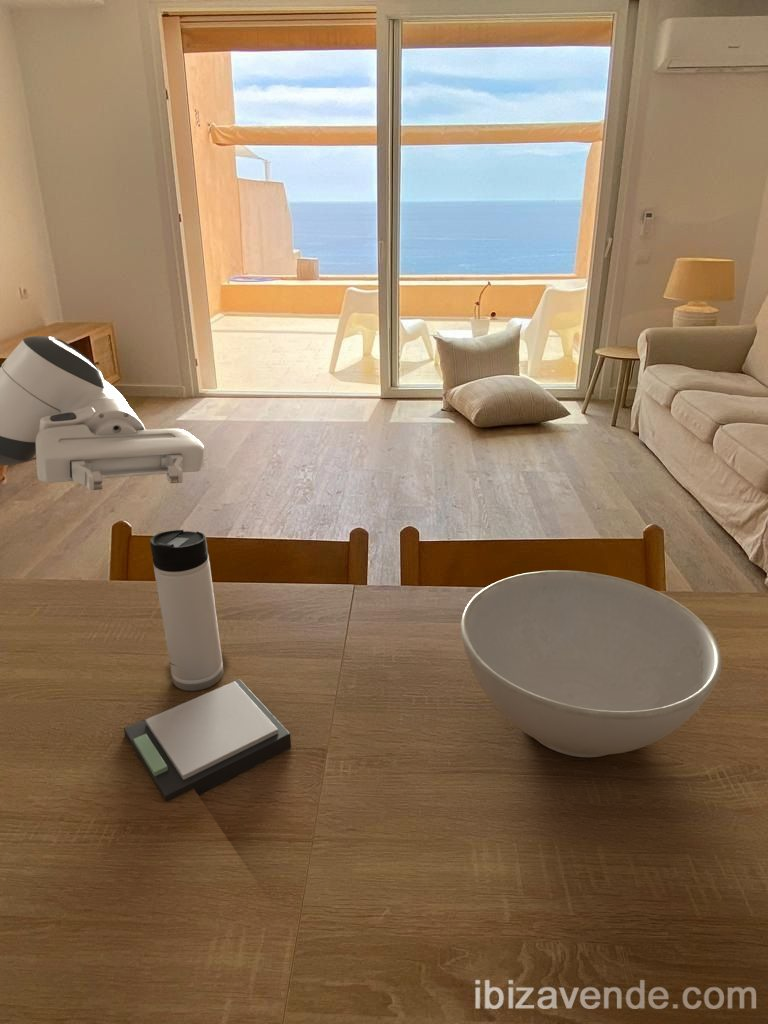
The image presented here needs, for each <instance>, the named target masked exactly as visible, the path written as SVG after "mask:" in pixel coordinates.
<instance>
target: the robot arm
mask: <svg viewBox="0 0 768 1024" xmlns="http://www.w3.org/2000/svg"><path fill="white" fill-rule="evenodd" d="M126 400H127V399H125V397H124V396H123V395H122V394H121V392H120V391H119V390H117V388H115V386H113V385H112V384H111V383H109V382H108V381H107V380H105V379H104V376H103V374H102V372H101V370H100V368H99V367H98V366H97V365H96V364H95V363H94V362H93V361H92V360H91V359H90V358H88V356H86V355H85V354H84V353H82V352H81V351H80V350H78V349H77V348H75V347H74V346H72V345H71V344H69V343H67V342H66V341H64V340H62V339H60V338H57V337H55V336H48V335H47V336H43V335H32V336H28V337H23V338H22V340H21V341H20V342H19V343H18V344H17V346H16V347H15V348H13V350H12V351H11V353H10V354H9V355H8V356H7V358H5V360H4V361H3V362H2V364H1V366H0V466H1V467H2V466H14V465H19V464H24V463H27V462H30V461H32V460H33V459H34V457H35V463H36V474H37V478H38V480H39V481H41V482H44V483H46V484H55V483H66V482H67V483H68V482H75V483H77V484H80V485H83V486H86V488H87V490H88V491H90V492H91V491H98V490H99V491H100V490H103V480H104V479H105V480H106V479H116V478H117V479H119V478H131V477H142V476H143V477H144V476H156V475H166V480H167V482H168V483H169V484H182V483H183V473H196V472H199V471H201V470H202V468H203V467H204V464H205V446H204V444H203V443H202V442H201V441H200V440H199V439H198V438H196V437H195V436H194V435H192V434H191V433H190V432H189V431H186V430H184V429H180V428H155V429H154V428H153V429H146V427H145V426H144V423H143V422H142V421H141V419H139V417H138V415H137V414H136V413H135V412H134V410H133V409H132V408H131V407H130V405H129V404H128V402H127V401H126Z"/></svg>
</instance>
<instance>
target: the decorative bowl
mask: <svg viewBox="0 0 768 1024" xmlns="http://www.w3.org/2000/svg"><path fill="white" fill-rule="evenodd" d="M460 635H461V642H462V646H463V649H464V653H465V656H466V658H467V661H468V663H469V666H470V669H471V671H472V673H473V675H474V677H475V679H476V681H477V683H478V684H479V687H480V688H481V690H482V691H483V693H484V694H485V696H486V698H487V699H488V700H489V701H490V702H491V703H492V705H493V706H494V707H495V709H497V710H498V712H499V713H501V715H502V716H503V717H505V719H507V721H508V722H510V723H511V724H512V725H513V726H515V727H516V728H517V729H519V730H520V731H522V732H523V733H525V735H527V736H529V737H530V738H533V739H535V740H536V741H537V742H539V743H540V744H541V745H543V746H544V747H546V748H549V749H550V750H552V751H555V752H558V753H560V754H564V755H567V756H571V757H577V758H597V757H604V756H607V755H608V756H609V755H616V754H624V753H628V752H633V751H637V750H639V749H642V748H644V747H647V746H649V745H652V744H654V743H657V742H658V741H661V740H662V739H664V738H665V737H668V736H669V735H670V734H672V733H674V732H675V731H677V730H678V729H679V728H680V727H682V726H683V725H684V724H685V723H686V722H688V720H690V718H691V717H692V716H693V715H694V714H695V713H696V712H697V711H698V710H699V709H700V708H701V707H702V705H703V704H704V702H705V701H706V700H707V699H708V697H709V696H710V695H711V693H712V692H713V690H714V689H715V686H716V684H717V683H718V680H719V678H720V675H721V672H722V667H723V659H722V658H723V657H722V652H721V649H720V646H719V644H718V641H717V639H716V637H715V636H714V634H713V633H712V631H711V629H710V628H709V627H708V626H707V625H706V624H705V622H704V621H702V620H701V618H699V617H698V616H697V614H695V613H694V612H693V611H691V610H690V609H689V608H687V607H686V606H684V605H683V604H681V603H680V602H678V601H677V600H675V599H673V598H671V597H670V596H668V595H666V594H664V593H662V592H660V591H657V590H655V589H653V588H650V587H648V586H645V585H643V584H640V583H637V582H634V581H631V580H628V579H624V578H620V577H616V576H612V575H606V574H602V573H596V572H588V571H580V570H579V571H578V570H541V571H532V572H525V573H521V574H516V575H513V576H509V577H506V578H503V579H500V580H498V581H496V582H494V583H491V584H490V585H488V586H486V587H485V588H483V589H481V590H480V591H479V592H478V593H476V594H475V595H474V596H473V597H472V598H471V600H470V601H469V602H468V603H467V605H466V607H465V608H464V611H463V613H462V616H461V621H460Z"/></svg>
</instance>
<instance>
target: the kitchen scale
mask: <svg viewBox="0 0 768 1024" xmlns="http://www.w3.org/2000/svg"><path fill="white" fill-rule="evenodd" d="M123 732H124V735H125V738H126V739H127V740H128V742H129V744H130V746H131V747H132V749H133V750H134V752H135V754H136V755H137V757H138V759H139V760H140V762H141V763H142V765H143V767H144V769H145V770H146V771H147V774H148V775H149V776H150V778H151V780H152V781H153V783H154V784H155V787H156V788H157V790H158V791H159V793H160V794H161V796H162V798H163V800H164V801H165V803H168V802H170V801H172V800H174V799H176V798H179V797H180V796H182V795H184V794H186V793H188V792H190V791H192V790H194V791H195V793H196V794H197V796H199V795H202V794H204V793H206V792H208V791H209V790H212V789H213V788H215V787H217V786H219V785H221V784H223V783H225V782H227V781H228V780H231V779H233V778H235V777H237V776H239V775H241V774H243V773H244V772H247V771H248V770H250V769H252V768H255V767H257V766H258V765H260V764H262V763H265V762H266V761H268V760H270V759H272V758H274V757H276V756H278V755H280V754H282V753H284V752H286V751H288V750H290V749H291V748H292V740H291V733H290V732H289V731H288V729H286V727H285V726H284V725H283V724H282V723H281V722H280V721H279V720H278V719H277V717H276V716H275V715H273V713H271V711H270V710H269V708H267V707H266V706H265V704H264V703H262V701H261V700H260V699H259V698H258V697H257V696H256V695H255V694H254V693H253V692H252V690H251V689H249V687H248V686H247V685H246V684H245V683H244V682H243V680H241V679H237V680H234V681H231V682H229V683H227V684H225V685H222V686H220V687H217V688H215V689H212V690H210V691H208V692H206V693H204V694H201V695H198V696H195V697H194V698H192V699H189V700H187V701H185V702H183V703H180V704H177V705H176V706H175V705H174V706H173V707H171V708H168V709H166V710H163V711H161V712H159V713H156V714H154V715H152V716H149V717H147V718H145V719H142V720H140V721H138V722H136V723H134V724H131V725H129V726H127V727H124V728H123Z"/></svg>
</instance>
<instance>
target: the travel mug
mask: <svg viewBox="0 0 768 1024" xmlns="http://www.w3.org/2000/svg"><path fill="white" fill-rule="evenodd" d="M149 543H150V544H149V545H150V550H151V551H150V552H151V556H152V565H153V572H154V577H155V584H156V590H157V595H158V596H157V597H158V602H159V607H160V614H161V620H162V626H163V632H164V638H165V644H166V650H167V655H168V662H169V669H170V674H171V680H172V683H173V685H174V686H175V687H177V688H178V689H180V690H181V691H182V690H183V691H185V692H198V691H203V690H207V689H209V688H211V687H213V686H214V685H216V684H217V683H218V682H219V681H220V680H221V679H222V677H223V675H224V665H223V656H222V649H221V648H222V647H221V641H220V640H221V639H220V633H219V624H218V618H217V610H216V603H215V601H216V600H215V594H214V593H215V592H214V586H213V579H212V578H213V577H212V570H211V562H210V555H209V551H208V543H207V535H206V534H205V533H204V532H201V531H188V530H186V531H184V529H173V530H167V531H166V530H165V531H163V532H159V533H157V534H155V535H153V536H152V537H150V539H149Z"/></svg>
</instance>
